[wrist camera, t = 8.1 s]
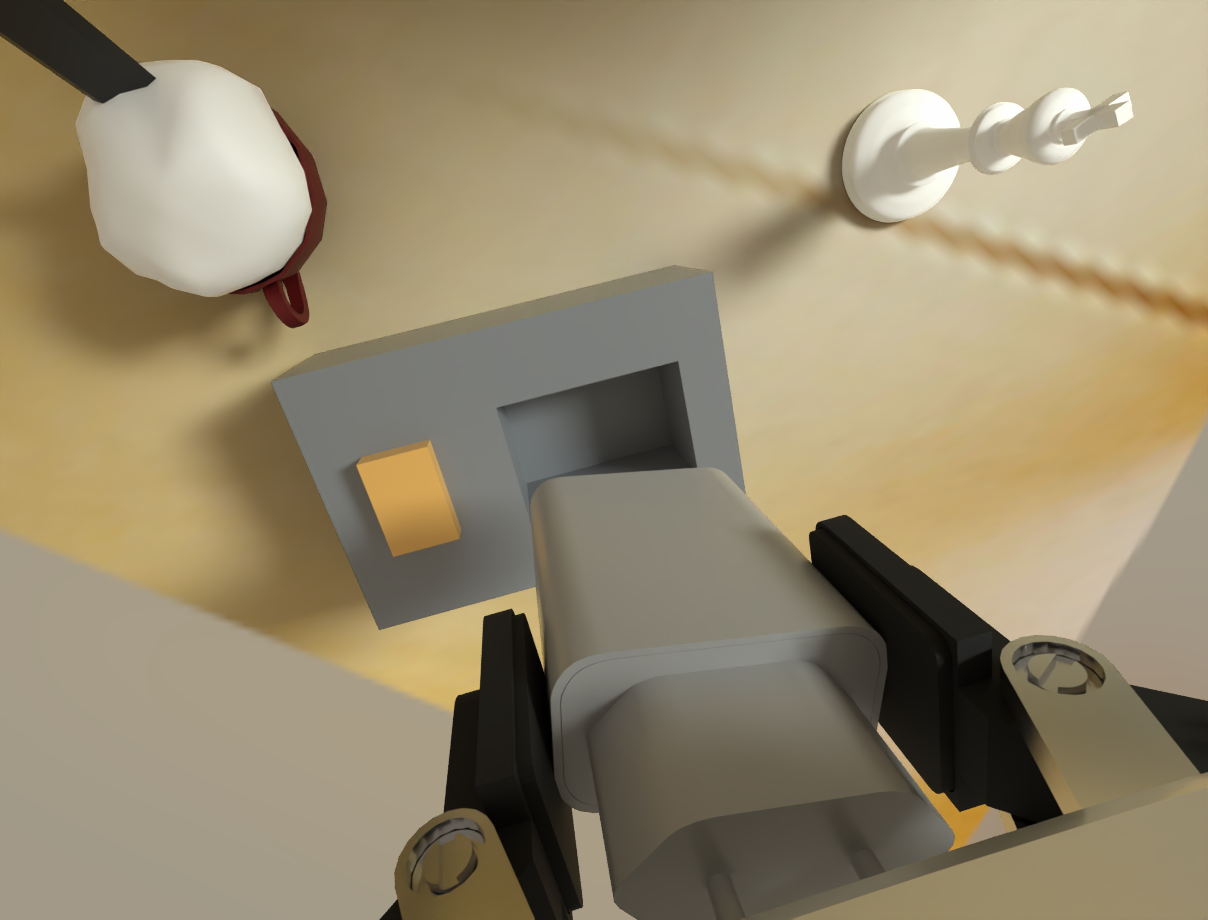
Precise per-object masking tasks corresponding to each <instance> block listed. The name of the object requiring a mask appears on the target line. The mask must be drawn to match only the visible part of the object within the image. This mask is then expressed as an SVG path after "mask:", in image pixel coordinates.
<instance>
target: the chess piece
mask: <svg viewBox="0 0 1208 920" xmlns="http://www.w3.org/2000/svg"><path fill="white" fill-rule="evenodd" d="M1131 107H1132V105H1131V101H1130V97H1129V93H1128V91H1127V92H1123V93H1119V94H1115V95H1112V96H1111V97H1109V98H1108V99H1106V100H1105V101H1103V102H1102V103H1101V104H1099V105H1098V106H1096V107H1095V108H1093V109H1090V105H1089V103H1088V100H1087V99H1086V97H1085V96H1084V95H1083V94H1082V93H1081V92H1080V91H1078V90H1076V89H1073V88H1059V89H1056V90H1053V91H1051V92H1049V93H1047V94H1046V95H1044V96H1043V97H1041V98H1040V99H1038V100H1037V101H1035V102H1034V103H1033V104H1032V105H1031V106H1030V107H1028V108H1027V109H1025V110H1024V109H1023V108H1022V107H1021V106H1019V105H1017V104H1014V103H1009V102H999V103H995V104H993V105H991V106H989V107H987V108H986V109H985V110H983V111H982V112H981V113H980V114H979V116H978V117H977V118H976V120H975V121H974V123H973V125H972V127H960V125H959V122H958V119H957V117H956V115H955V113H954V111H953V109H952V108H951V107H950V105H949V104H948V103H947V102H946V101H945V100H944V99H943V98H941V97H940V96H938V95H937V94H935V93H933V92H930V91H927V90H922V89H909V90H899V91H895V92H891V93H889V94H886V95H884V96H882V97H880V98H879V99H877V100H876V101H874V102H873V103H872V104H870V105H869V106H868V107H867V108H866V109H865V110H864V111H863V112H862V113H861V115H860V116H859V117H858V119H857V120H856V122H855V123H854V125H853V127H852V128H851V130H850V133H849V135H848V137H847V140H846V143H845V147H844V151H843V158H842V176H843V182H844V186H845V189H846V192H847V194H848V196H849V198H850V200H851V202H852V203H853V204H854V206H855V207H856V208H857V209H858V210H859V211H860V212H861V213H862V214H864V215H865V216H867V217H869V218H871V219H873V220H876V221H880V222H888V223H890V222H899V221H903V220H906V219H910V218H913V217H916V216H918V215H920V214H922V213H924V212H926V211H927V210H929V209H930V208H931V207H933V206H934V205H935V204H936V203H937V202H938V201H939V200H940V199H941V198H942V197H943V196H944V194H945V193H946V192H947V190H948V189H949V187H950V185H951V184H952V182H953V180H954V178H955V175H956V173H957V170H958V167H959V165H960V164H963V163H966V162H969V161H970V162H971V163H972V165H973V166H974V167H975V168H976V169H977V170H978V171H979V172H981V173H984V174H989V175H993V174H998V173H1001V172H1003V171H1005V170H1007V169H1009V168H1011V167H1012V166H1014V165H1015V164H1016V163H1017V162H1018V161H1019V160H1020V159H1021V157H1022V158H1026V159H1028V160H1030V161H1032V162H1035V163H1039V164H1043V165H1054V164H1058V163H1061V162H1063V161H1065V160H1067V159H1068V158H1070V157H1071V156H1072V155H1074V154H1075V153H1076V152H1077V151H1078V149H1079V148H1080V147H1081V145H1082V144H1083V142H1084V141H1085V139H1086V138H1087V137H1088V136H1090V135H1091V134H1093V133H1094V132H1096V131H1097V130H1101V129H1107V128H1113V127H1118V126H1120V125H1122V124H1123V123H1125V122H1126V121H1128V120H1129V119H1130V118H1132V117H1133V113H1132V108H1131Z"/></svg>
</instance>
